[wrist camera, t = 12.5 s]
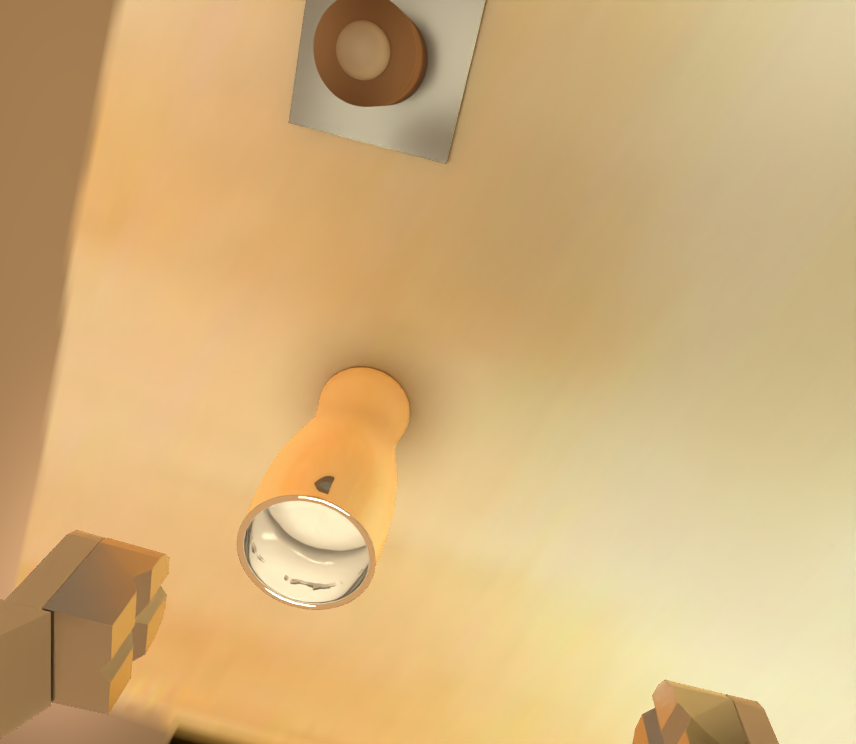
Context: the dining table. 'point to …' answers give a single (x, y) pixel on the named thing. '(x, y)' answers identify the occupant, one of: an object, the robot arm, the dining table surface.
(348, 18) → the pepper mill
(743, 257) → the dining table surface
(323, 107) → the coaster
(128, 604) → the robot arm
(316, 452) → the beer glass
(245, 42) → the dining table surface
